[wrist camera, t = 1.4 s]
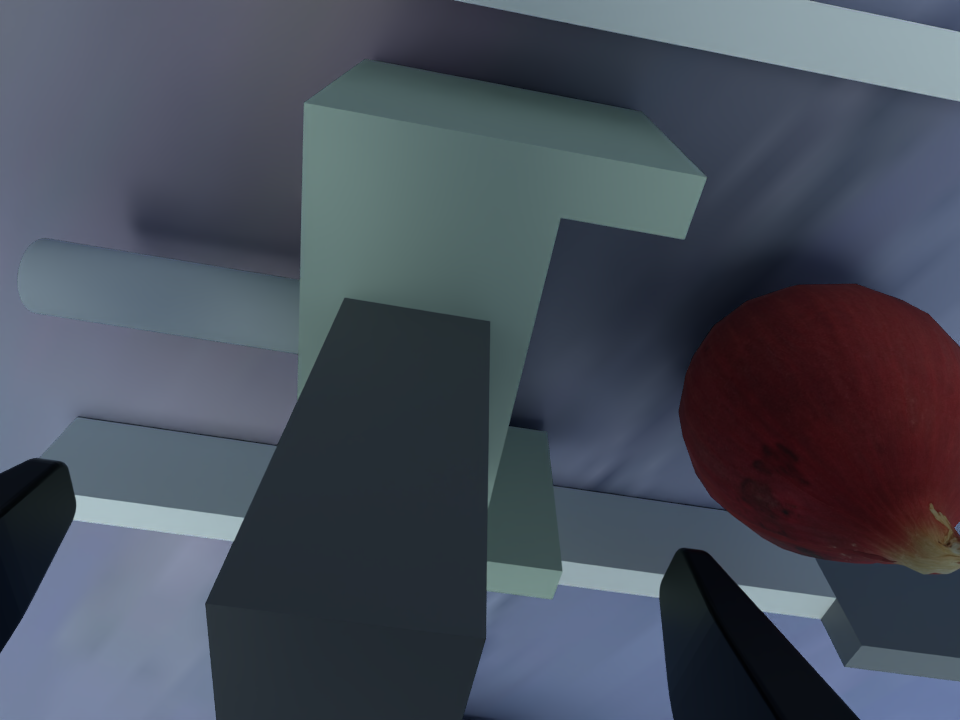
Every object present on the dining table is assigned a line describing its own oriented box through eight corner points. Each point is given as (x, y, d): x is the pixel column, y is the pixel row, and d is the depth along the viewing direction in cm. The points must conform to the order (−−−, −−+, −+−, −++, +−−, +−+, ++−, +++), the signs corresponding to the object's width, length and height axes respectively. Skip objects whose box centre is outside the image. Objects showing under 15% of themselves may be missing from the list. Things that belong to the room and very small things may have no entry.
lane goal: (1078, 583, 22) (1291, 809, 16) (82, 442, 20) (-97, 649, 14) (1524, 155, 14) (2262, 290, 8) (-49, -173, 12) (-607, -313, 6)
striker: (539, 457, 19) (582, 935, 10) (130, 397, 18) (-260, 859, 9) (641, 111, 14) (957, 427, 4) (69, 2, 13) (-1084, 101, 3)
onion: (739, 449, 19) (872, 711, 12) (606, 344, 17) (678, 587, 11) (916, 321, 17) (1200, 562, 10) (783, 183, 15) (1023, 366, 8)
